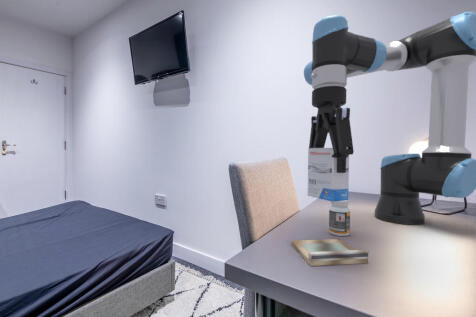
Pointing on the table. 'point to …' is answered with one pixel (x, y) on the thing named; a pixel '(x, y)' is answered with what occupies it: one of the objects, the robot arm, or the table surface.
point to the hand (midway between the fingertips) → (327, 184)
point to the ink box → (324, 176)
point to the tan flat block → (329, 252)
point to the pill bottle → (339, 218)
